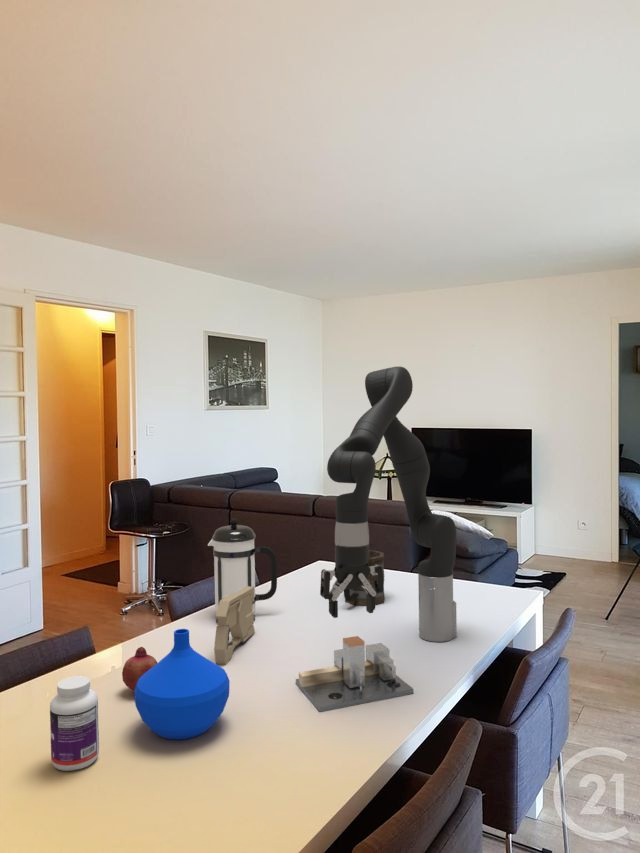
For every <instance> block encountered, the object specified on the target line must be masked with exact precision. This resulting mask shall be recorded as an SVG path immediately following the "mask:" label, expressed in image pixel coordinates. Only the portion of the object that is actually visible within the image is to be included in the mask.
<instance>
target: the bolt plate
mask: <svg viewBox="0 0 640 853" xmlns="http://www.w3.org/2000/svg"><path fill="white" fill-rule="evenodd" d="M295 684H296V686H297V687H298V689H299V690H301V692H302V693H303V694H304V696H306V698H307V699H308V700H309V701H310V702H311V704H312V705H313V706H314V707H315V708H316V710H317V711H318V712H319V713H320V712H326V711H331V710H336V709H342V708H346V707H351V706H356V705H361V704H367V703H371V702H378V701H381V700H382V701H383V700H387V699H393V698H397V697H402V696H407V695H408V696H409V695H412V694H414V688H413V687H412V686H411V685H409V684H408V683H407V682H406V681H404V680H403V679H402V678H400V677H399V676H398V675H397V674H396V684H392V679H390V680H383V679H382V678H381V677H379V674H374V675H368V676H365V685H364V686H363V690H359V687H353V688H349V687H348V686H347V685H346V684H345V683H344V680H341V681H335V682H329V683H324V684H318V685H313V686H307V687H302V686H301V685H300V684H299V678H296V679H295Z"/></svg>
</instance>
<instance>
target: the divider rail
mask: <svg viewBox="0 0 640 853" xmlns="http://www.w3.org/2000/svg"><path fill="white" fill-rule="evenodd" d="M374 674H379V671H373V664H372V663H371V662H370V661H366V660H365V676H368V675H374ZM298 679H299V684H300V685H301V686H302V687H307V686H313V685H318V684H324V683H329V682H335V681H341V680H344V677H341V669H340V668H339V667H338V666H330V667H324V668H316V669H312V670H307V671H299V672H298Z"/></svg>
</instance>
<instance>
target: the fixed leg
mask: <svg viewBox="0 0 640 853" xmlns="http://www.w3.org/2000/svg"><path fill="white" fill-rule="evenodd" d="M365 661H370V662H371V663H372V664H373V671H379V677H381V678H382V679H383V680H390V679H392V684H396V675H397V674H396V672H397V666H396V665H394V659H392V658H391V657H390V648H389V647H387V646H386V645H384V644H383V643H382V642H378V643H371V644H366V645H365Z"/></svg>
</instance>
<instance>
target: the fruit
mask: <svg viewBox="0 0 640 853" xmlns="http://www.w3.org/2000/svg"><path fill="white" fill-rule="evenodd" d="M157 663H158V661H157V660H156V658H155V657H154V656H152V655H151V654H148V653H147V650H146V648H145V647H143V646H140V647H137V649H136V651H135V654H134V655H133V656H132V657H129V658H128V659H127V660H126V661H125V663H124V665H123V666H122V672H121V675H122V682H123V683H124V685H125V686H126V687H127V688H128V689H130V690H132V691H135V688H136V685H137V682H138V680H139V678H140V677H141V676H142V675H143V674H144V673H146V672H147V671H148V670H150V669H151V668H152V667H153V666H155V665H156V664H157Z"/></svg>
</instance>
